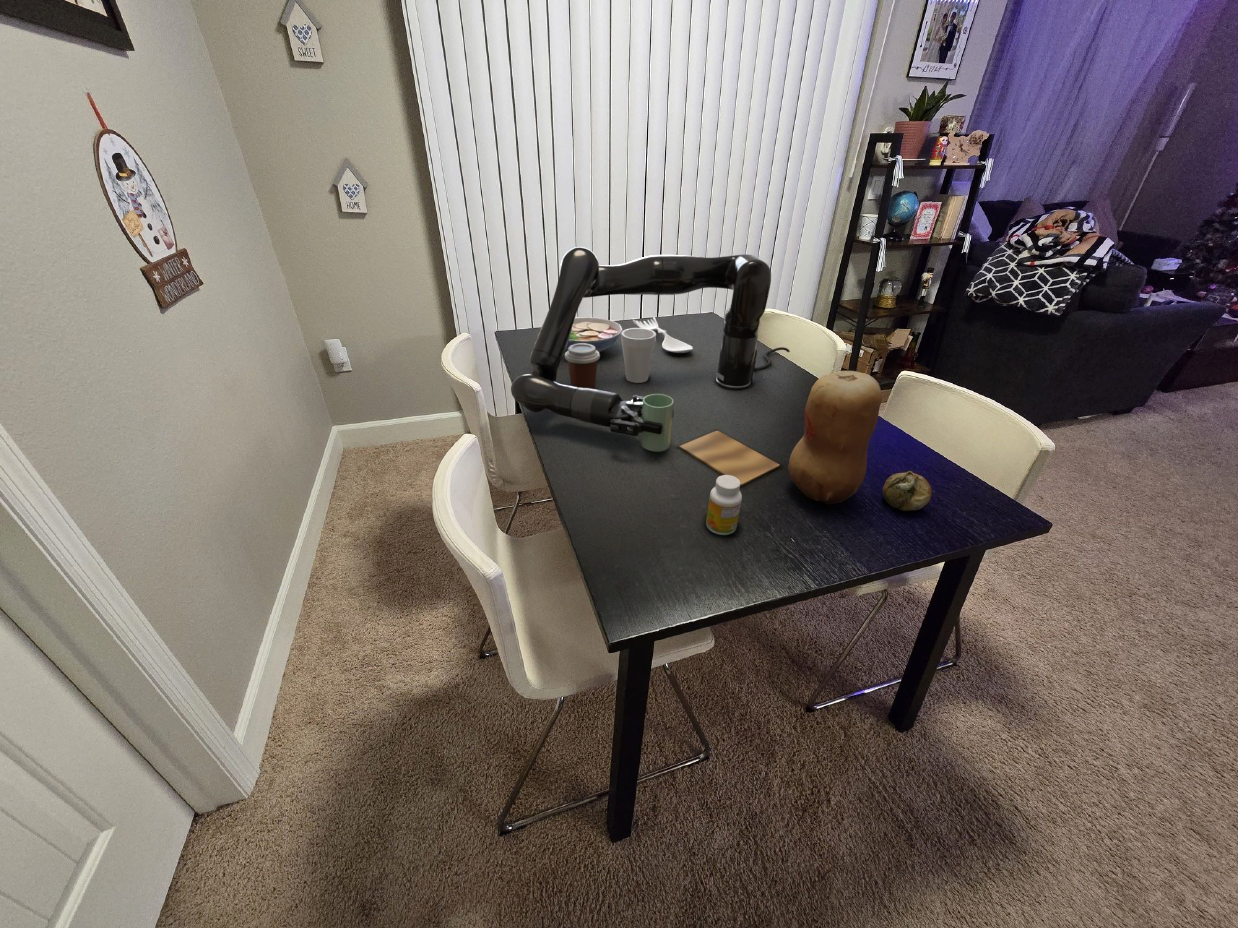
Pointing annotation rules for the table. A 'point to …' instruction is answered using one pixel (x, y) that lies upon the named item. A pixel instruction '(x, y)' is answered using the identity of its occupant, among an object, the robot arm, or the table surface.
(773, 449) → the table surface
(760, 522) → the table surface
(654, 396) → the cup
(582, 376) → the coffee cup
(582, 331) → the ramen bowl
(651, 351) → the foam cup
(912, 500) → the onion
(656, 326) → the spoon
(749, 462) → the placemat
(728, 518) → the supplement bottle
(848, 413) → the butternut squash
